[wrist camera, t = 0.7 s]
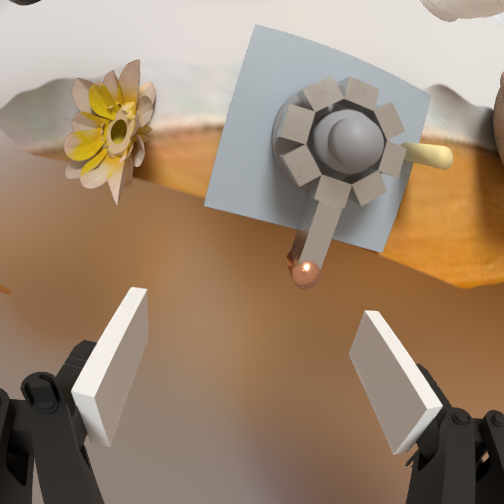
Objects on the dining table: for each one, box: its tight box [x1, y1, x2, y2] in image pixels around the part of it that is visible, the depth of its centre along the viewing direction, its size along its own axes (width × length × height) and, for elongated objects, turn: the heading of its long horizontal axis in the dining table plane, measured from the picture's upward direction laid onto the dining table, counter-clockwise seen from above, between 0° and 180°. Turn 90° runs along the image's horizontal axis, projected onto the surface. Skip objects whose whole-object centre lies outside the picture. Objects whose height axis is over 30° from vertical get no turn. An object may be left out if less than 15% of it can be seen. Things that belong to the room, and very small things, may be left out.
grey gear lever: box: [276, 76, 407, 289], centre depth 29 cm, size 21×12×4 cm, turn 165°
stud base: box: [204, 25, 453, 253], centre depth 28 cm, size 22×23×11 cm
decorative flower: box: [64, 60, 156, 205], centre depth 27 cm, size 15×11×10 cm
